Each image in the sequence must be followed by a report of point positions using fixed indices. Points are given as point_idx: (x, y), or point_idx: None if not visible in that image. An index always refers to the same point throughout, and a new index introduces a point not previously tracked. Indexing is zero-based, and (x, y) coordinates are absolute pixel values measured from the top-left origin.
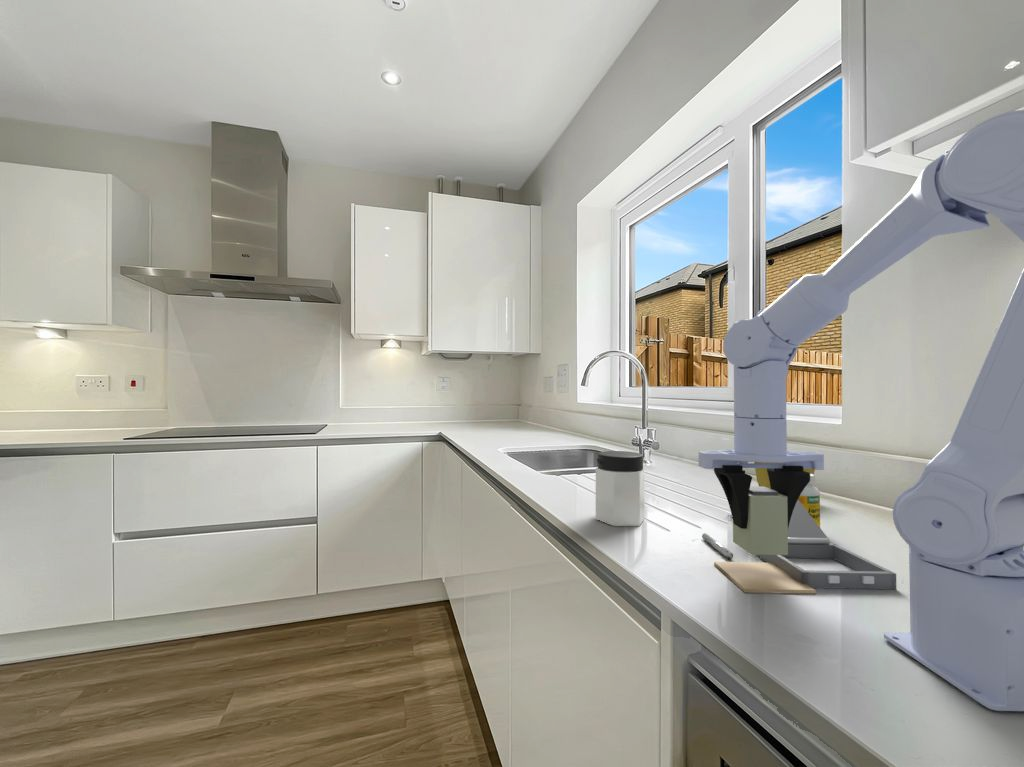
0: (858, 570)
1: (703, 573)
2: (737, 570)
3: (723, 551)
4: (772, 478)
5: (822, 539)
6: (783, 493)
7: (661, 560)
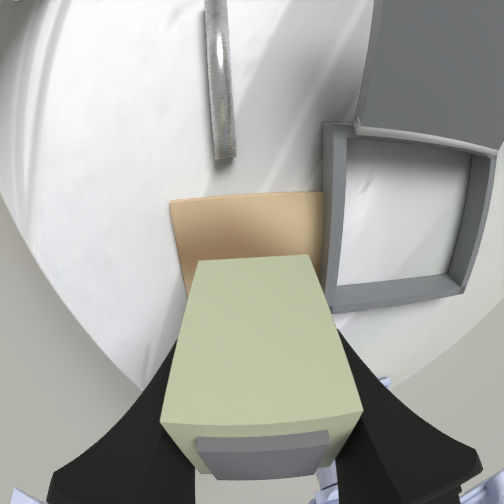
0: (463, 217)
1: (137, 250)
2: (209, 250)
3: (213, 140)
4: (373, 478)
5: (487, 151)
6: (341, 460)
7: (64, 191)
